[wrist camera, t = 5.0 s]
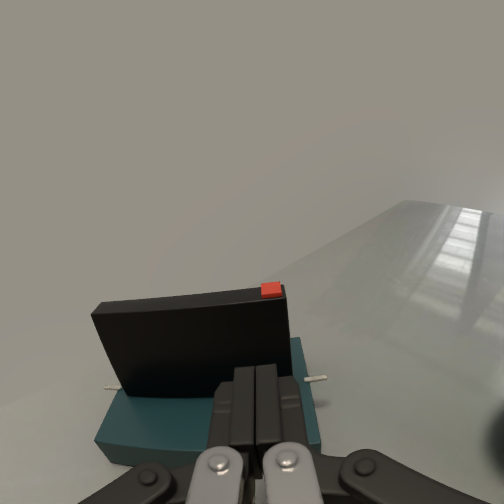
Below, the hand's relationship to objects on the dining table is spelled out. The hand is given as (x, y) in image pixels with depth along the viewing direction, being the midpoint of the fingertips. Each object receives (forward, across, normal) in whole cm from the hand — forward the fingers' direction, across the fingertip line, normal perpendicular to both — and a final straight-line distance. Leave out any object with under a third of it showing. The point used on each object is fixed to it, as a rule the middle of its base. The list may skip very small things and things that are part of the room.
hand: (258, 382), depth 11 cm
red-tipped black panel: (+6, +4, +6) cm, 9 cm away
